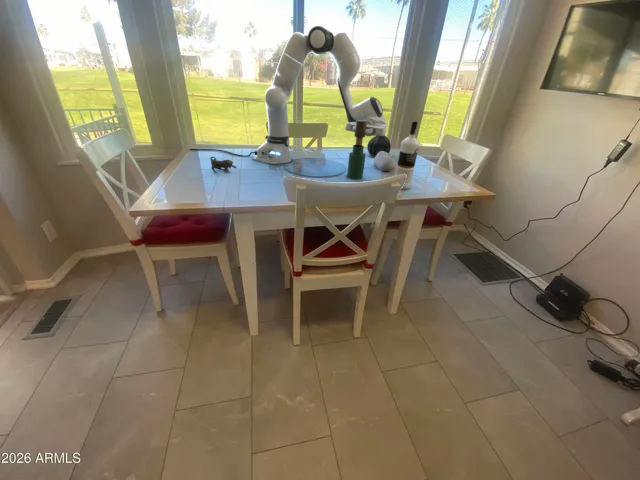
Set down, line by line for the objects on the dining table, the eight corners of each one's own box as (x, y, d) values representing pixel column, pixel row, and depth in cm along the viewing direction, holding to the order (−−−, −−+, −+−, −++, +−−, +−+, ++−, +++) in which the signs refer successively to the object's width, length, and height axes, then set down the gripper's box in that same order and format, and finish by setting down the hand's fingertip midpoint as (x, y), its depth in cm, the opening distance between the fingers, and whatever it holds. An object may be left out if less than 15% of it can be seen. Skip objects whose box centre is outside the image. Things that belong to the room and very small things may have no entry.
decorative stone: (369, 159, 163) (380, 145, 158) (380, 168, 167) (392, 155, 163) (377, 170, 149) (390, 156, 145) (389, 180, 153) (402, 166, 149)
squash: (375, 142, 188) (372, 127, 175) (395, 147, 181) (393, 132, 168) (366, 159, 186) (361, 145, 173) (386, 165, 179) (383, 150, 166)
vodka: (400, 182, 140) (413, 119, 124) (414, 188, 133) (430, 122, 117) (387, 184, 135) (399, 120, 119) (401, 191, 129) (416, 123, 113)
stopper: (352, 145, 132) (354, 120, 127) (354, 142, 137) (357, 119, 131) (363, 146, 131) (366, 121, 125) (364, 144, 135) (367, 120, 130)
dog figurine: (210, 173, 138) (208, 158, 134) (213, 169, 143) (211, 155, 139) (235, 173, 139) (233, 158, 135) (237, 169, 144) (235, 155, 140)
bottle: (345, 178, 141) (348, 146, 132) (348, 173, 147) (352, 143, 138) (360, 180, 139) (365, 148, 130) (363, 175, 145) (367, 145, 137)
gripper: (352, 117, 143) (340, 121, 132) (389, 122, 134) (380, 126, 124) (350, 130, 146) (339, 134, 136) (387, 136, 138) (378, 140, 128)
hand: (359, 130), depth 130 cm, fingers closed on stopper, 5 cm apart
